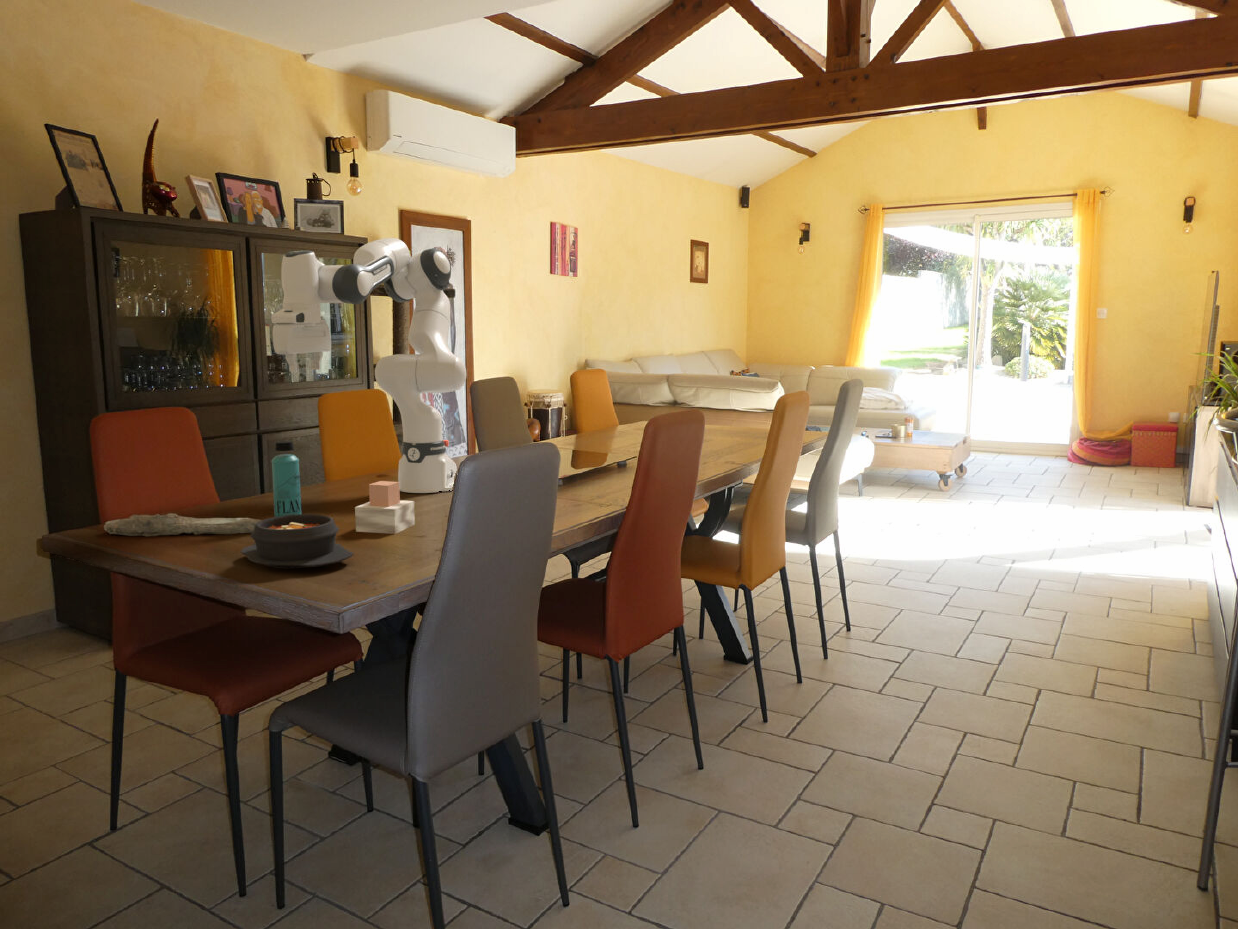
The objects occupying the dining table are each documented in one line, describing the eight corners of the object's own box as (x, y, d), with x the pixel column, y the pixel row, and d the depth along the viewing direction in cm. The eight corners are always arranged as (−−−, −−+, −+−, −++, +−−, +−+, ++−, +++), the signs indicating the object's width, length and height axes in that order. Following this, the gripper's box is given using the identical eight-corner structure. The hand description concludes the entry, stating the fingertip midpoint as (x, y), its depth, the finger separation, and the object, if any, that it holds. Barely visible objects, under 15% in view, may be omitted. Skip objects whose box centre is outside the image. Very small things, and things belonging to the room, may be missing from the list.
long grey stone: (255, 542, 206) (268, 534, 216) (256, 519, 205) (269, 512, 215) (94, 537, 202) (115, 529, 212) (94, 513, 202) (115, 507, 212)
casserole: (375, 560, 185) (373, 520, 184) (301, 582, 169) (299, 538, 168) (293, 544, 198) (291, 506, 196) (217, 563, 182) (215, 522, 181)
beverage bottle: (273, 527, 214) (268, 443, 211) (275, 521, 220) (271, 439, 217) (302, 525, 216) (297, 442, 212) (303, 519, 222) (299, 439, 219)
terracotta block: (381, 501, 216) (380, 480, 215) (399, 502, 214) (399, 482, 213) (369, 505, 211) (368, 484, 210) (388, 506, 209) (387, 485, 209)
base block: (377, 523, 219) (376, 499, 218) (414, 525, 217) (414, 501, 216) (356, 532, 210) (354, 507, 209) (395, 534, 207) (394, 509, 207)
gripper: (314, 315, 238) (317, 368, 240) (266, 316, 218) (270, 373, 221) (335, 315, 236) (338, 368, 239) (289, 316, 217) (292, 373, 219)
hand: (305, 371), depth 229 cm, fingers open, 8 cm apart
